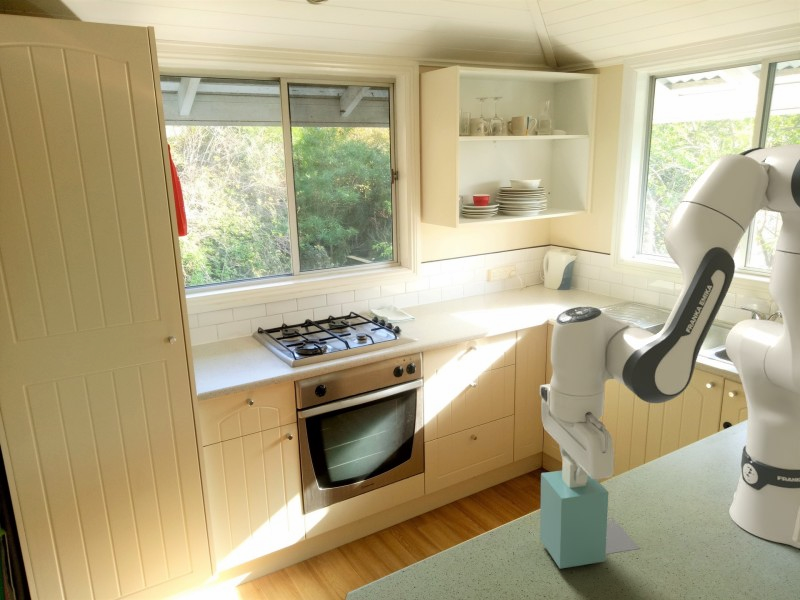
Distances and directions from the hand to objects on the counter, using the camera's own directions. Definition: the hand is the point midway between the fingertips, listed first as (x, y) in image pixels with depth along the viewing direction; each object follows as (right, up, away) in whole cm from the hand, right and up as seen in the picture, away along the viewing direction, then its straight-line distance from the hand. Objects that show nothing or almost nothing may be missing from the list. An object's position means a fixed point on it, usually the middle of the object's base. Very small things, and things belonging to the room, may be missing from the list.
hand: (574, 475), depth 105 cm
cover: (+1, -15, +3) cm, 15 cm away
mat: (+8, -14, +9) cm, 19 cm away
